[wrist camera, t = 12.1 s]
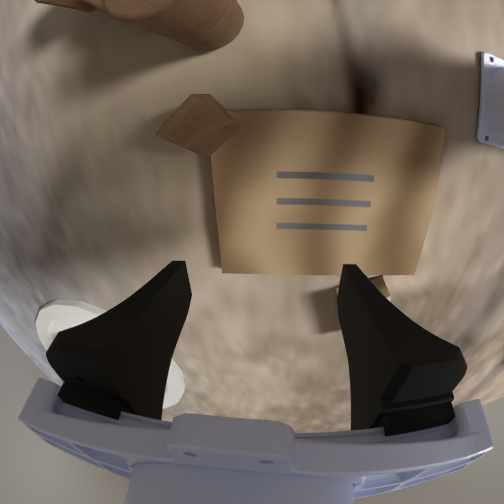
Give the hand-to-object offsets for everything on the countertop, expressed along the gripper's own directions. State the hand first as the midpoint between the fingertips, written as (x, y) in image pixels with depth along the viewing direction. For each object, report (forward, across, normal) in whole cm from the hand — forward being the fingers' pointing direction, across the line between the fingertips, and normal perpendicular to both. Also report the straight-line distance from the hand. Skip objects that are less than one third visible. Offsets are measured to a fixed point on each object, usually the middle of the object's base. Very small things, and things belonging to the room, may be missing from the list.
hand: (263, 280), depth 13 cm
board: (+10, -4, 0) cm, 11 cm away
